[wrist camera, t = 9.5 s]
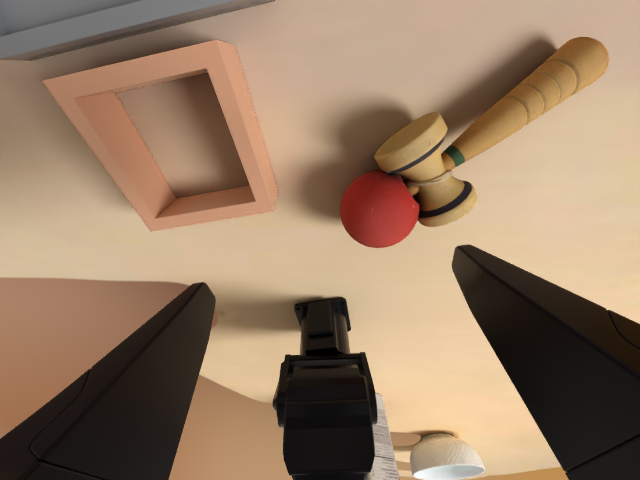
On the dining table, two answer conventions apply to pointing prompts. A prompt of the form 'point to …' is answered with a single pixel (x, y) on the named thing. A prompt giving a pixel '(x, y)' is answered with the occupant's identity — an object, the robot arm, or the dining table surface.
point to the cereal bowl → (444, 458)
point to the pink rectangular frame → (134, 157)
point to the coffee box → (382, 448)
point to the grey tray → (94, 22)
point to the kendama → (456, 152)
